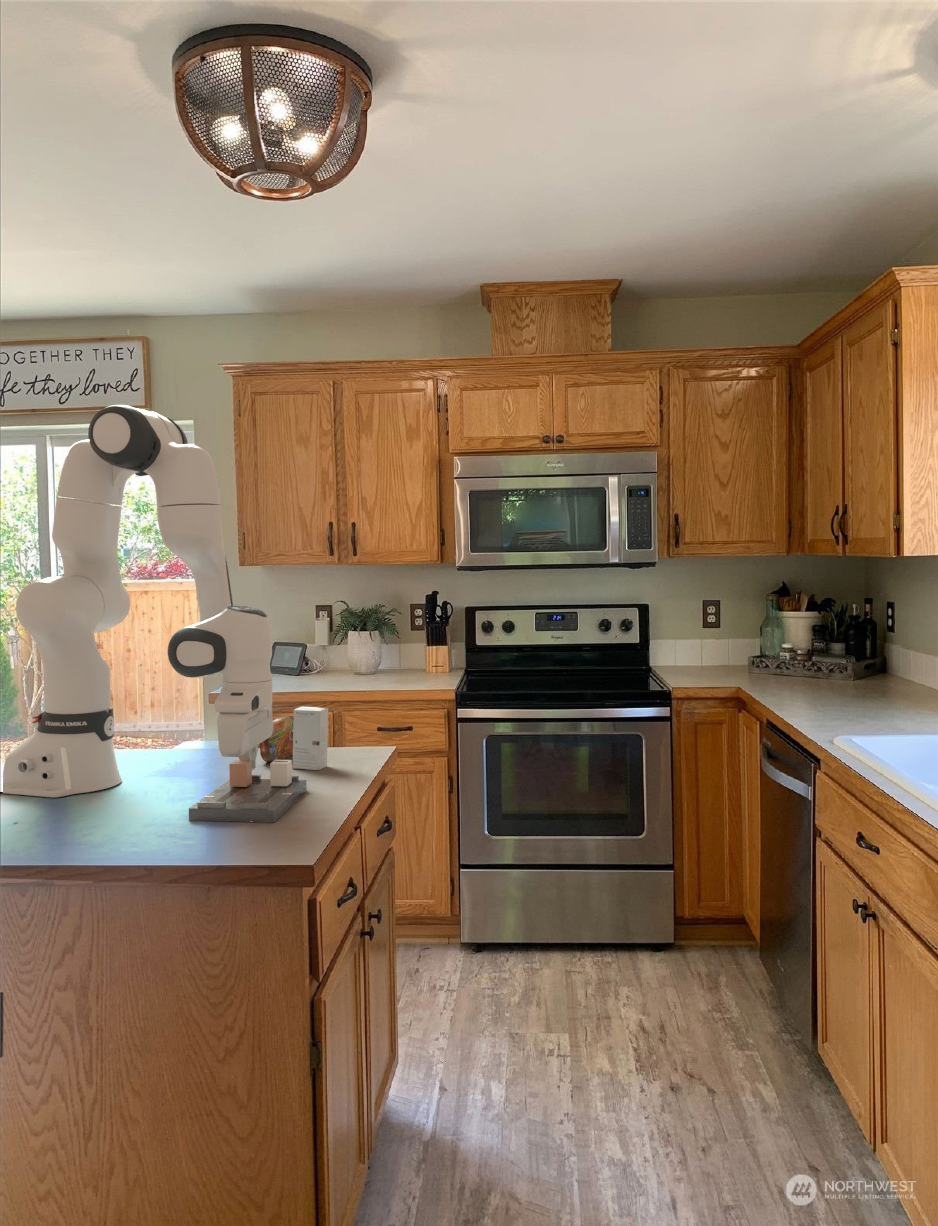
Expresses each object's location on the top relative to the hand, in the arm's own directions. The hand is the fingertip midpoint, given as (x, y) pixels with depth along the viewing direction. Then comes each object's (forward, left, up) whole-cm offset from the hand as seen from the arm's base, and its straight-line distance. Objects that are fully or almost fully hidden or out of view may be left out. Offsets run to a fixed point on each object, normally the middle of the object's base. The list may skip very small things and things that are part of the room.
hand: (248, 771), depth 163 cm
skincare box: (+7, +19, -4) cm, 21 cm away
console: (+4, -9, -4) cm, 10 cm away
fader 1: (0, -4, -1) cm, 4 cm away
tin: (-2, +27, -4) cm, 28 cm away
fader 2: (+7, -3, -1) cm, 8 cm away
